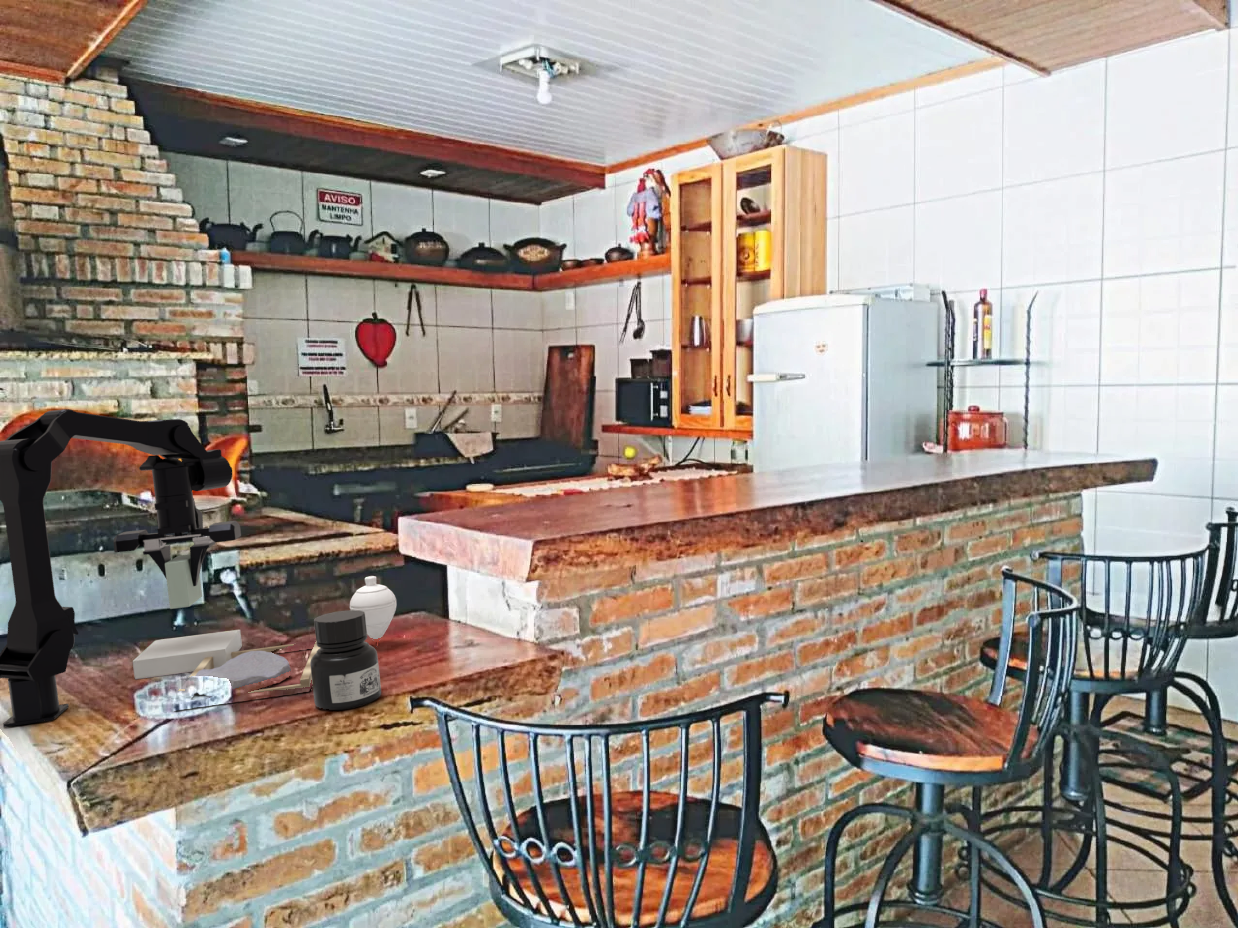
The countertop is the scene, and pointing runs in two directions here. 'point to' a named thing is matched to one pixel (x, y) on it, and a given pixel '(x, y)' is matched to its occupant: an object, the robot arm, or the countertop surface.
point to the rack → (306, 675)
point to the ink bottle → (344, 662)
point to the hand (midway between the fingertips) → (184, 586)
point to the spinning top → (375, 606)
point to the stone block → (250, 668)
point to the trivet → (186, 653)
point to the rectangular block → (181, 582)
